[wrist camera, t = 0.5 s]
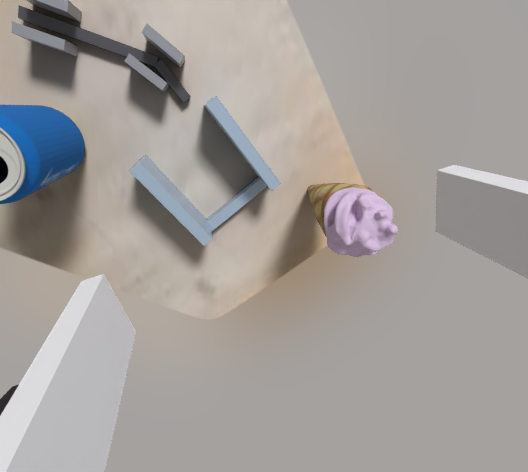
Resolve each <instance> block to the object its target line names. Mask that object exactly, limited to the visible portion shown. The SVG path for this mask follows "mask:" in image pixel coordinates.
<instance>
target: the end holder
mask: <svg viewBox="0 0 528 472" xmlns="http://www.w3.org/2000/svg"><path fill="white" fill-rule="evenodd" d="M204 106H205V108H206V109H207V110H208V112H209V113H210V114H211V115H212V117H213V118H214V119H215V121H216V122H217V123H218V125H219V126H220V127H221V128H222V130H223V131H224V132H225V134H226V135H227V136H228V138H229V139H230V140H231V141H232V143H233V144H234V145H235V147H236V148H237V149H238V151H239V152H240V153H241V154H242V156H243V157H244V158H245V160H246V161H247V162H248V164H249V165H250V166H251V167H252V169H253V170H254V171H255V173H256V174H257V175H258V178H256V179H255V180H254V181H253V182H252V183H250V184H249V185H248V186H247V187H245V188H244V189H243V190H242V191H241V192H239V193H238V194H237V195H236V196H234V197H233V198H232V199H231V200H229V201H228V202H227V203H226V204H225V205H223V206H222V207H221V208H220V209H218V210H217V211H216V212H215V213H214V214H212V215H211V216H210V217H209V218H207V219H206V218H205V217H204V216H203V215H202V214H201V213H200V212H199V211H198V210H197V209H196V208H195V207H194V206H193V204H192V203H191V202H190V201H189V200H188V199H187V198H186V197H185V196H184V195H183V194H182V193H181V192H180V191H179V190H178V188H177V187H176V186H175V185H174V184H173V183H172V182H171V181H170V180H169V179H168V178H167V177H166V176H165V175H164V174H163V172H162V171H161V170H160V169H159V168H158V167H157V166H156V165H155V164H154V163H153V162H152V161H151V160H150V159H149V158H148V157H147V155H145V156H144V157H143V158H141V159H140V160H139V161H138V162H137V163H136V164H135V165H134V166H133V167H132V168H131V169H130V170H129V171H130V172H131V173H132V174H133V175H134V176H135V177H136V178H137V179H138V180H139V181H140V182H141V183H142V184H143V185H144V186H145V187H146V189H147V190H148V191H149V192H150V193H151V194H152V195H153V196H154V197H155V198H156V199H157V200H158V201H159V202H160V203H161V204H162V205H163V206H164V207H165V208H166V209H167V210H168V211H169V212H170V213H171V214H172V215H173V216H174V217H175V218H176V219H177V220H178V221H179V222H180V223H181V224H182V225H183V226H184V227H185V228H186V229H187V230H188V231H189V232H190V233H191V234H192V235H193V236H194V237H195V238H196V239H197V240H198V241H199V242H200V243H201V244H202V245H203V246H204V245H206V244H207V243H208V242H209V241H211V240H212V233H211V232H212V231H213V230H214V229H215V228H217V227H218V226H219V225H220V224H222V223H223V222H224V221H225V220H227V219H228V218H229V217H230V216H231V215H233V214H234V213H235V212H236V211H238V210H239V209H240V208H241V207H243V206H244V205H245V204H246V203H248V202H249V201H250V200H251V199H252V198H254V197H255V196H256V195H257V194H259V193H260V192H261V191H262V190H264V189H265V188H266V187H267V186H268V188H269V189H270V190H271V191H272V190H274V189H275V188H276V187H277V186H279V185H280V184H281V183H280V182H279V180H278V179H277V177H276V176H275V175H274V173H273V172H272V171H271V169H270V168H269V167H268V165H267V164H266V163H265V161H264V160H263V158H262V157H261V156H260V154H259V153H258V152H257V150H256V149H255V148H254V146H253V145H252V144H251V142H250V141H249V139H248V138H247V137H246V135H245V134H244V133H243V131H242V130H241V129H240V127H239V126H238V125H237V123H236V122H235V120H234V119H233V118H232V116H231V115H230V114H229V112H228V111H227V110H226V108H225V107H224V106H223V104H222V103H221V101H220V100H219V99H218V97H217V96H216V97H214V98H212V99H211V100H210V101H208V102H207V103H206V104H205V105H204Z"/></svg>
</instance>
